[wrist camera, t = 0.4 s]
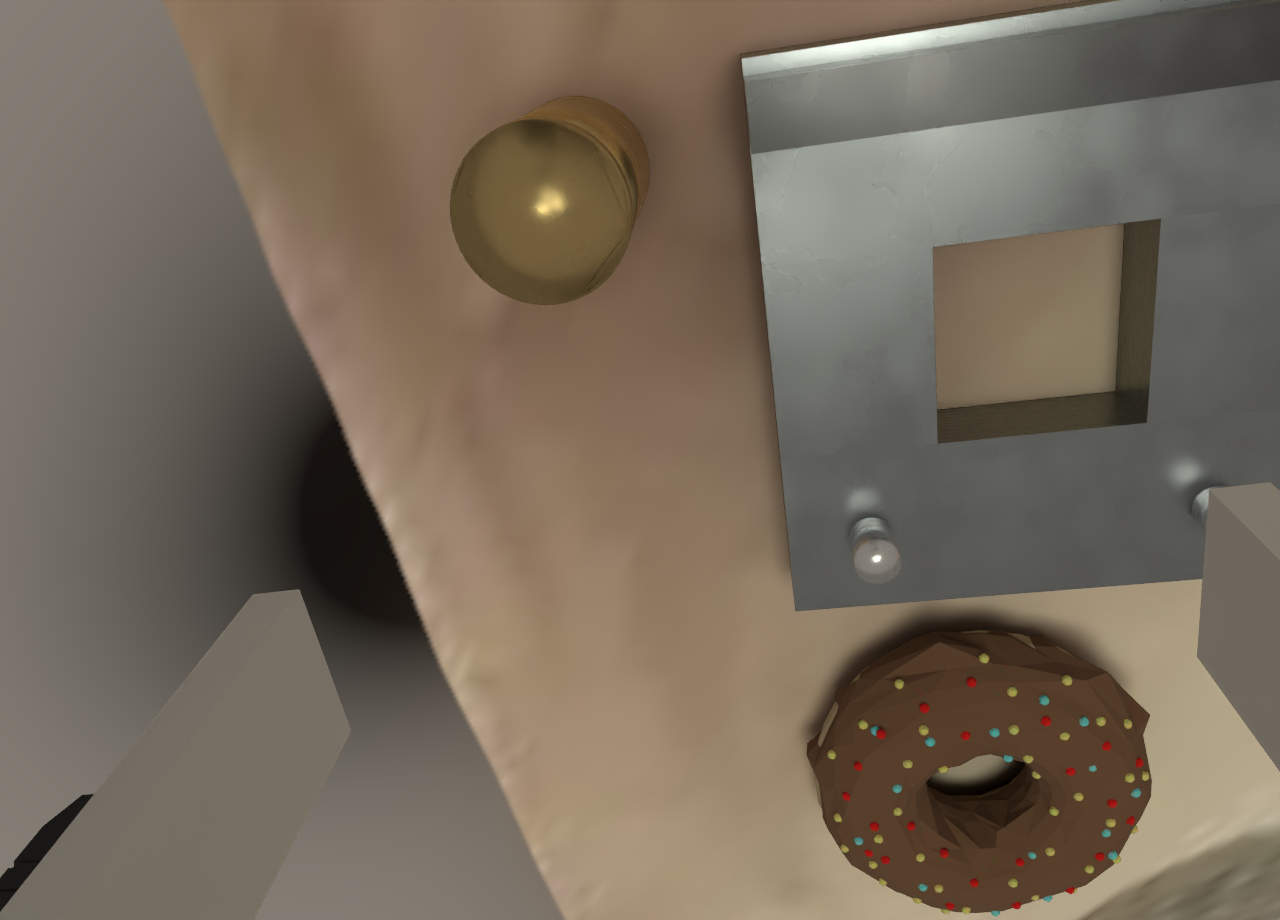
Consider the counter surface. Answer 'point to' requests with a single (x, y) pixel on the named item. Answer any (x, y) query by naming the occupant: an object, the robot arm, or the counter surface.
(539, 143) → the amber grooved cylinder
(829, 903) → the counter surface
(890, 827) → the donut
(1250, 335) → the jig
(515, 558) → the counter surface
